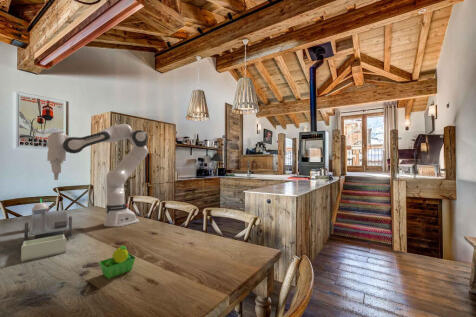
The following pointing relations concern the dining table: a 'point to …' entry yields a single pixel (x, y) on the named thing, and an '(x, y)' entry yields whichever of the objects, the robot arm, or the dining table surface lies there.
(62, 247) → the bin
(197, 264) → the dining table surface
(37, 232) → the seesaw lever
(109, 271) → the fruit basket
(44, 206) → the smoothie
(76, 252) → the dining table surface
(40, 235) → the fulcrum stand
